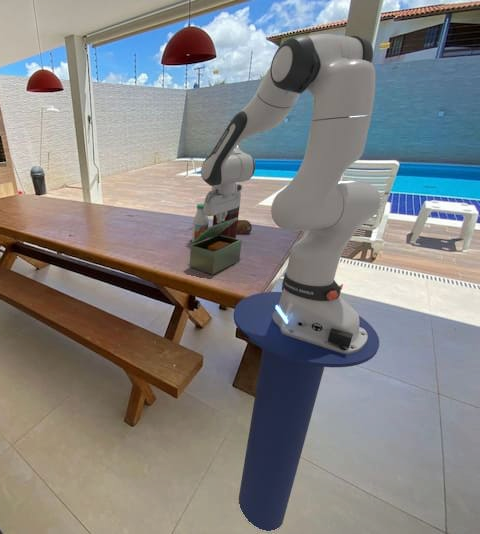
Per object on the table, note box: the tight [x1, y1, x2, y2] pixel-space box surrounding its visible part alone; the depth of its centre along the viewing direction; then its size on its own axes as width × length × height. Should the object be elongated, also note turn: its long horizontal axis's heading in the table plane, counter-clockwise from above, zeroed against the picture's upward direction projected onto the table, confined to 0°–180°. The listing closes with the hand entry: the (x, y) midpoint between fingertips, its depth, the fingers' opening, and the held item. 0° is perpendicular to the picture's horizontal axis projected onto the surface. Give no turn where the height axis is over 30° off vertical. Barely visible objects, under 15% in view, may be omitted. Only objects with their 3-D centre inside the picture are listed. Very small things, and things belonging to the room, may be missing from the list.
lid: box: [189, 216, 240, 246], centre depth 128 cm, size 12×20×1 cm
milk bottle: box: [191, 203, 210, 242], centre depth 155 cm, size 8×8×20 cm
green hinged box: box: [189, 235, 243, 275], centre depth 131 cm, size 12×20×10 cm, turn 129°
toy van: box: [208, 241, 230, 251], centre depth 131 cm, size 5×9×8 cm, turn 132°
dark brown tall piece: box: [212, 204, 241, 239], centre depth 150 cm, size 9×11×28 cm
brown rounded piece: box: [236, 219, 253, 234], centre depth 167 cm, size 15×3×8 cm, turn 72°
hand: (220, 222), depth 125 cm, fingers closed
